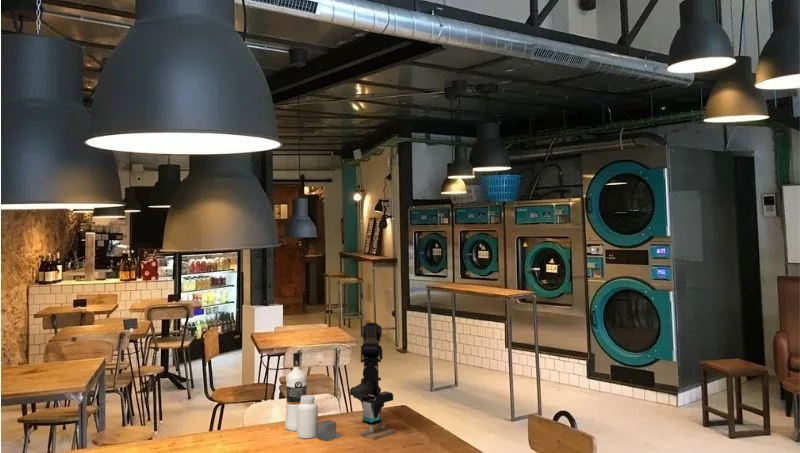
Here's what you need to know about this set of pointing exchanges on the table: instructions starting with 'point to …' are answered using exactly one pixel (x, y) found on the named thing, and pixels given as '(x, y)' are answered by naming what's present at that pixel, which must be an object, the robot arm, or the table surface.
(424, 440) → the table surface
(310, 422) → the pill bottle
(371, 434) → the pin board
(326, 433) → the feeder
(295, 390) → the vodka
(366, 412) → the sleeve
